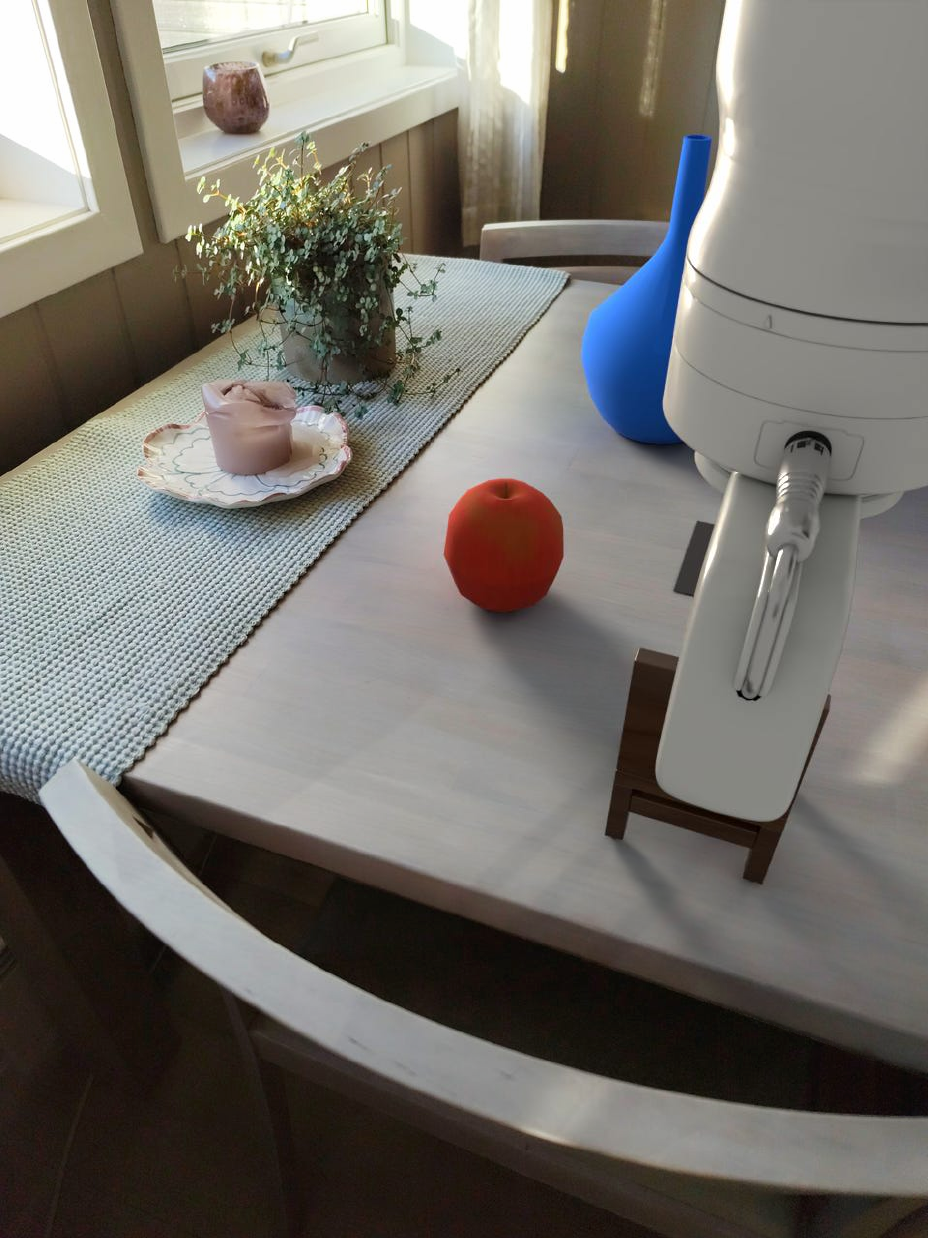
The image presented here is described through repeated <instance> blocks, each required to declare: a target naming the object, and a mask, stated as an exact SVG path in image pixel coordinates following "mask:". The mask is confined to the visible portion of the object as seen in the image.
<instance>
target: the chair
mask: <svg viewBox="0 0 928 1238" xmlns="http://www.w3.org/2000/svg"><path fill="white" fill-rule="evenodd" d="M678 660H679V656H676V655H673V654H668V653H664V652H660V651H657V650H653V649H648V648H645V647H641V646H640V647H638V649H637V652H636V655H635V657H634V659H633V666H632V672H631V678H630V683H629V689H628V695H627V702H626V706H625V707H626V708H625V713H624V720H623V725H622V730H621V737H620V742H619V748H618V753H617V760H616V766H615V771H614V775H613V782H612V789H611V793H610V794H611V795H610V800H609V807H608V813H607V818H606V825H605V831H604V836H605V837H609V838H611V839H613V840H619V841H624V838H625V834H626V830H627V827H628V822H629V817H630V813H632V814H635V815H638V816H641V817H645V818H648V819H651V820H654V821H658V822H661V823H665V824H667V825H671V826H674V827H677V828H681V829H684V830H687V831H690V832H694V833H697V834H700V835H703V836H707V837H711V838H714V839H715V840H716V839H717V840H720V841H722V842H726V843H730V844H734V845H736V846H739V847H743V848H746V849H749V851H748V854H747V857H746V860H745V863H744V867H743V873H742V880H745V881H748V882H750V883H753V884H758V885H763V884H764V882H765V879H766V876H767V874H768V870H769V868H770V866H771V863H772V860H773V859H774V857H775V853H776V851H777V847H778V845H779V843H780V840H781V837H782V834H783V832H784V830H785V827H786V824H787V822H788V819H789V816H790V814H791V812H792V808H793V806H794V804H795V801H796V798H797V796H798V794H799V791H800V788H801V785H802V783H803V781H804V777H805V775H806V773H807V770H808V767H809V765H810V762H811V759H812V757H813V754H814V752H815V749H816V747H817V744H818V742H819V740H820V736H821V734H822V731H823V729H824V726H825V723H826V721H827V718H828V715H829V713H830V710H831V702H832V695H831V694H829V693H828V696H827V699H826V702H825V705H824V708H823V712H822V715H821V718H820V721H819V724H818V727H817V730H816V733H815V736H814V739H813V742H812V745H811V748H810V750H809V753H808V756H807V759H806V762H805V765H804V768H803V771H802V774H801V777H800V780H799V783H798V785H797V788H796V791H795V794H794V797H793V799H792V801H791V804H790V806H789V808H788V809H787V811H786V812H785V813H784V814H783V815H782V816H781V817H780V818H778V819H776V820H773V821H768V822H759V821H752V820H746V819H741V818H737V817H733V816H729V815H725V814H721V813H717V812H713V811H710V810H707V809H704V808H702V807H699V806H696V805H693V804H690V803H687V802H685V801H682V800H680V799H677V798H675V797H673V796H671V795H669V794H668V793H666V792H665V791H663V790H662V789H661V788H660V786H659V784H658V782H657V779H656V772H655V771H656V759H657V754H658V748H659V744H660V740H661V735H662V731H663V726H664V722H665V717H666V713H667V708H668V704H669V699H670V695H671V690H672V686H673V682H674V677H675V673H676V669H677V664H678Z"/></svg>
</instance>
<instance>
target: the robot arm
mask: <svg viewBox="0 0 928 1238" xmlns="http://www.w3.org/2000/svg"><path fill="white" fill-rule="evenodd" d="M724 5H725V6H724V10H723V17H722V22H721V23H722V24H721V29H720V35H719V42H718V48H717V54H716V63H715V85H716V96H717V102H718V103H717V104H718V115H719V118H718V121H719V128H718V129H719V131H718V146H717V152H716V158H715V165H714V169H713V172H712V176H711V178H710V183H709V186H708V188H707V192H706V194H705V196H704V200H703V204H702V206H701V208H700V210H699V212H698V214H697V216H696V218H695V221H694V223H693V226H692V228H691V232H690V236H689V239H688V244H687V252H686V258H685V265H684V271H683V275H682V282H681V288H680V294H679V301H678V307H677V314H676V320H675V326H674V333H673V341H672V347H671V354H670V360H669V366H668V372H667V379H666V385H665V391H664V397H663V411H664V414H665V417H666V419H667V421H668V423H669V425H670V427H671V428H672V430H673V431H674V432H675V433H676V434H677V435H678V436H679V438H680V439H681V440H682V442H683V443H685V444H686V445H687V446H688V447H689V448H691V449H692V450H693V451H694V462H695V465H696V468H697V470H698V472H699V474H701V476H702V477H703V478H704V480H705V481H706V482H707V483H708V484H709V485H710V486H711V487H712V488H713V489H715V490H716V491H718V492H719V493H720V494H722V495H723V498H722V501H721V503H720V507H719V510H718V514H717V517H716V520H715V523H714V524H715V526H714V529H713V533H712V536H711V539H710V542H709V545H708V549H707V552H706V555H705V558H704V562H703V565H702V568H701V571H700V575H699V579H698V582H697V586H696V590H695V594H694V596H693V597H692V602H691V605H690V610H689V614H688V617H687V622H686V626H685V629H684V630H685V631H684V633H683V634H684V635H683V639H682V643H681V648H680V652H679V656H678V657H679V660H678V664H677V669H676V673H675V677H674V682H673V686H672V690H671V695H670V699H669V704H668V708H667V713H666V717H665V722H664V726H663V731H662V735H661V740H660V744H659V748H658V754H657V759H656V771H655V772H656V779H657V782H658V784H659V786H660V788H661V789H662V790H663V791H665V792H666V793H668V794H669V795H671V796H673V797H675V798H677V799H680V800H682V801H685V802H687V803H690V804H693V805H696V806H699V807H702V808H704V809H707V810H710V811H713V812H717V813H721V814H725V815H729V816H733V817H737V818H741V819H746V820H752V821H759V822H768V821H773V820H776V819H778V818H780V817H781V816H782V815H783V814H784V813H785V812H786V811H787V809H788V808H789V806H790V804H791V801H792V799H793V797H794V794H795V791H796V788H797V785H798V783H799V780H800V777H801V774H802V771H803V768H804V765H805V762H806V759H807V756H808V753H809V750H810V748H811V745H812V742H813V739H814V736H815V733H816V730H817V727H818V724H819V721H820V718H821V715H822V712H823V708H824V705H825V702H826V699H827V696H828V694H829V693H830V689H831V686H832V683H833V680H834V677H835V673H836V671H837V668H838V664H839V661H840V657H841V654H842V650H843V646H844V642H845V638H846V634H847V630H848V627H849V620H850V616H851V611H852V605H853V601H854V600H853V599H854V592H855V585H856V578H857V577H856V575H857V563H858V553H859V539H860V529H861V520H863V519H867V518H872V517H874V516H878V515H880V514H882V513H884V512H886V511H888V510H890V509H891V508H892V507H894V506H895V505H896V504H897V503H898V502H899V501H900V500H901V499H902V497H903V495H904V493H905V492H908V491H914V490H917V489H921V488H924V487H925V488H926V487H927V486H928V0H725V4H724Z"/></svg>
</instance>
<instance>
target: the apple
mask: <svg viewBox="0 0 928 1238" xmlns="http://www.w3.org/2000/svg"><path fill="white" fill-rule="evenodd" d="M563 523H564V522H563V517H562V515H561V513H560V512H559V511H558V509H557V508H556V506H555V505H554V503H553V502H552V500H551V499H550V498H548V497H547V495H546V494H544V493H543V491H541V490H539V489H537V488H535V487H533V486H532V485H530V484H528V483H526V482H525V481H522V480H518V479H515V478H513V477H511V478H509V477H508V478H505V477H503V478H502V477H501V478H494V479H489V480H486V481H484V482H481V483H480V484H477V485H476V486H473V487H470V488H469V489H467V490H466V491H465V492H464V494H462V496H461V497H460V498H459V500H458V501H457V502H456V504H455V505H454V507H453V508H452V509H451V511H450V512H449V514H448V521H447V528H446V535H445V541H444V549H443V557H444V560H445V562H446V564H447V566H448V569H449V572H450V574H451V577H452V579H453V582H454V584H455V587H456V588H457V590H458V592H459V593H460V595H461V597H463V598H464V599H466V600H468V601H469V602H470V603H471V604H473V605H475V606H477V607H478V608H482V609H484V610H487V611H490V612H494V613H508V612H512V611H518V610H521V609H525V608H529V607H533V606H535V605H537V604H538V603H539V602H540V601H542V600H543V599H545V597H547V595H548V593H549V591H550V589H551V588H552V587H551V586H552V585H553V582H554V581H555V579H556V576H557V575H558V572H559V570H560V567H561V566H562V565H561V564H562V562H563V559H564V555H565V554H564V552H565V551H564V546H565V545H564V544H565V543H564V524H563Z"/></svg>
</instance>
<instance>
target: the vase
mask: <svg viewBox="0 0 928 1238" xmlns="http://www.w3.org/2000/svg"><path fill="white" fill-rule="evenodd" d="M712 142H713V137H712V136H710V135H706V134H685V135H684V136H683V141H682V145H681V153H680V158H679V165H678V169H677V174H676V175H677V176H676V181H675V187H674V194H673V200H672V205H671V212H670V221H669V227H668V231H667V233H666V235H665V238H664V240H663V242H662V243H661V245H660V246H659V248H658V249H657V251H656V252H655V253H654V255H653V256H651V257H650V258H649V260H648V261H647V262H645V264H644V265H642V266H641V267H640V269H638V270H637V271H636V272H635V273H634V274H633V275H632V276H631V277H630V278H629V279H628V280H627V281H626V282H625V283H623V285H621V286H620V287H619V288H618V289H617V290H615V292H614V293H612V294H611V295H610V296H609V297H607V298H606V299H605V300H604V301H602V303H600V304H599V305H598V306H597V307H596V308H595V309H593V310H592V311H591V312H590V315H589V318H588V320H587V324H586V327H585V330H584V333H583V336H582V340H581V352H580V360H581V364H582V368H583V372H584V376H585V380H586V385H587V388H588V393H589V397H590V398H591V400H592V402H593V404H594V406H595V407H596V409H597V411H598V413H599V415H600V416H601V417H602V418H603V419H604V420H605V421H606V423H607V424H608V425H609V426H610V427H611V428H612V429H613V430H614V431H615V432H616V433H618V434H620V435H621V436H623V437H625V438H627V439H630V440H632V441H636V442H641V443H644V444H651V445H652V444H653V445H672V444H678V443H682V442H683V441H682V440H681V439H680V438H679V436H678V435H677V434H676V433H675V432H674V431H673V430H672V428H671V427H670V425H669V423H668V421H667V419H666V417H665V414H664V411H663V397H664V391H665V385H666V379H667V372H668V366H669V360H670V354H671V347H672V341H673V333H674V326H675V320H676V314H677V307H678V301H679V294H680V288H681V282H682V275H683V271H684V265H685V258H686V252H687V244H688V239H689V236H690V232H691V228H692V226H693V223H694V221H695V218H696V216H697V214H698V212H699V210H700V208H701V206H702V204H703V201H704V199H705V193H706V185H707V178H708V170H709V164H710V156H711V148H712Z"/></svg>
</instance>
